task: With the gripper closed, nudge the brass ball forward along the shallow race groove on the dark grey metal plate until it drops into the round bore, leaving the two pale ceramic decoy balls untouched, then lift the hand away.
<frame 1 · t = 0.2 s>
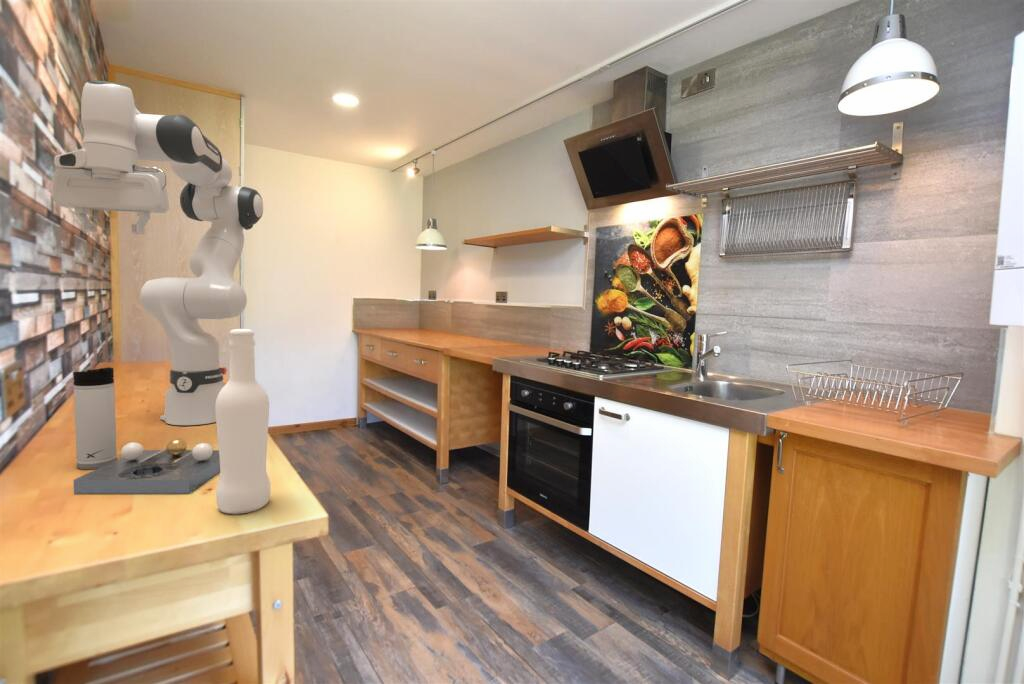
hand: (113, 232, 103), 47 cm above the worktop, fingers open, 8 cm apart
travel mug: (98, 465, 100), on the worktop
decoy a: (202, 451, 98), point 4 cm above the worktop, touching plate
bottle: (244, 506, 84), on the worktop
brass ball: (176, 447, 100), point 4 cm above the worktop, touching plate
decoy b: (132, 451, 96), point 4 cm above the worktop, touching plate
plate: (161, 476, 95), on the worktop
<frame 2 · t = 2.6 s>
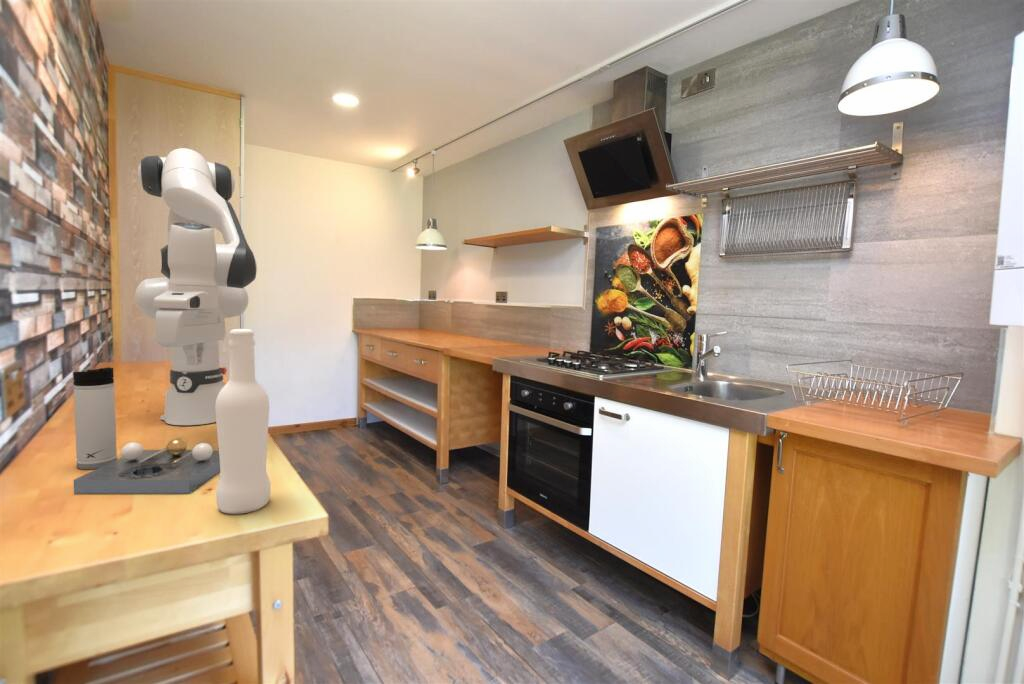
hand: (195, 364, 106), 20 cm above the worktop, fingers closed
nothing on the worktop moved.
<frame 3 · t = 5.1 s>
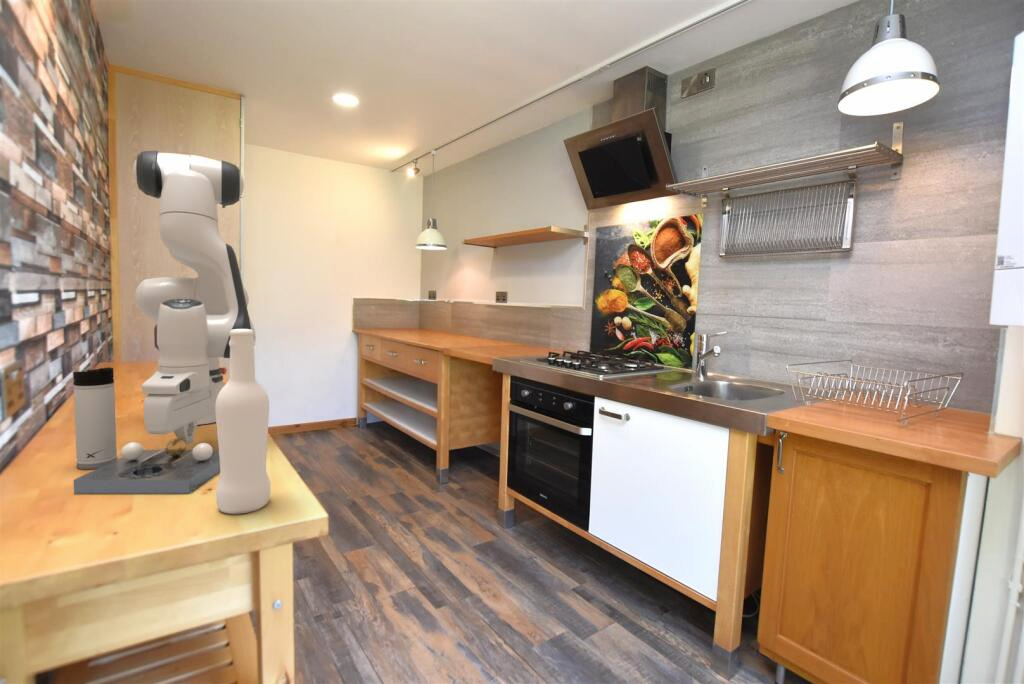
hand: (185, 444, 103), 4 cm above the worktop, fingers closed
brass ball: (175, 447, 100), point 4 cm above the worktop, touching gripper
everything else where it was.
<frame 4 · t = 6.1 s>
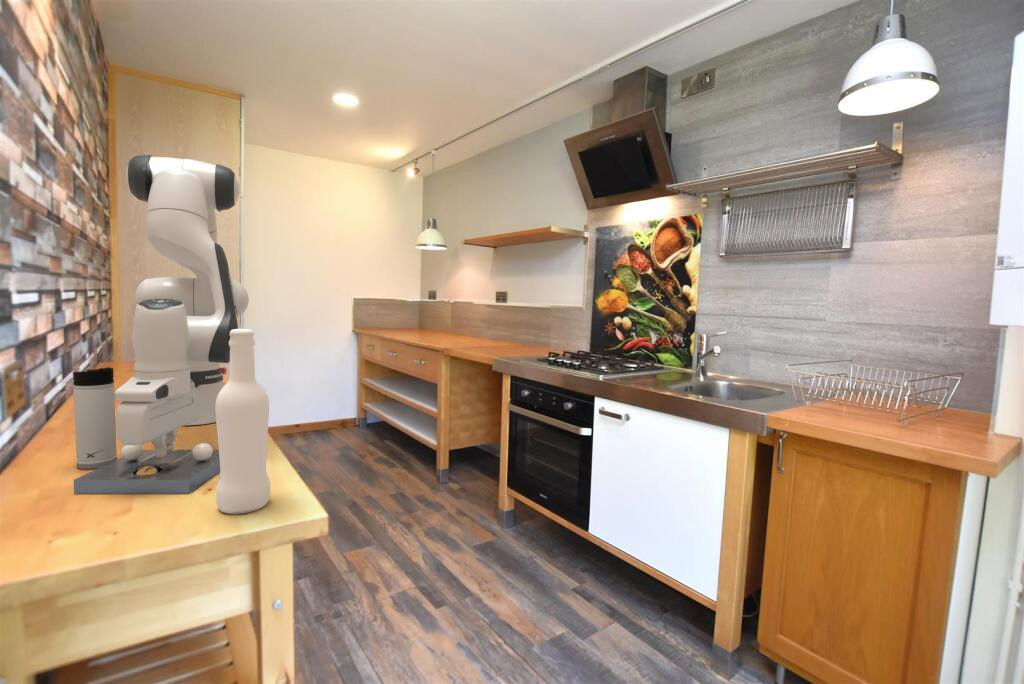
hand: (164, 454, 96), 4 cm above the worktop, fingers closed
brass ball: (146, 475, 91), point 2 cm above the worktop, tilted 10°
everything else where it was.
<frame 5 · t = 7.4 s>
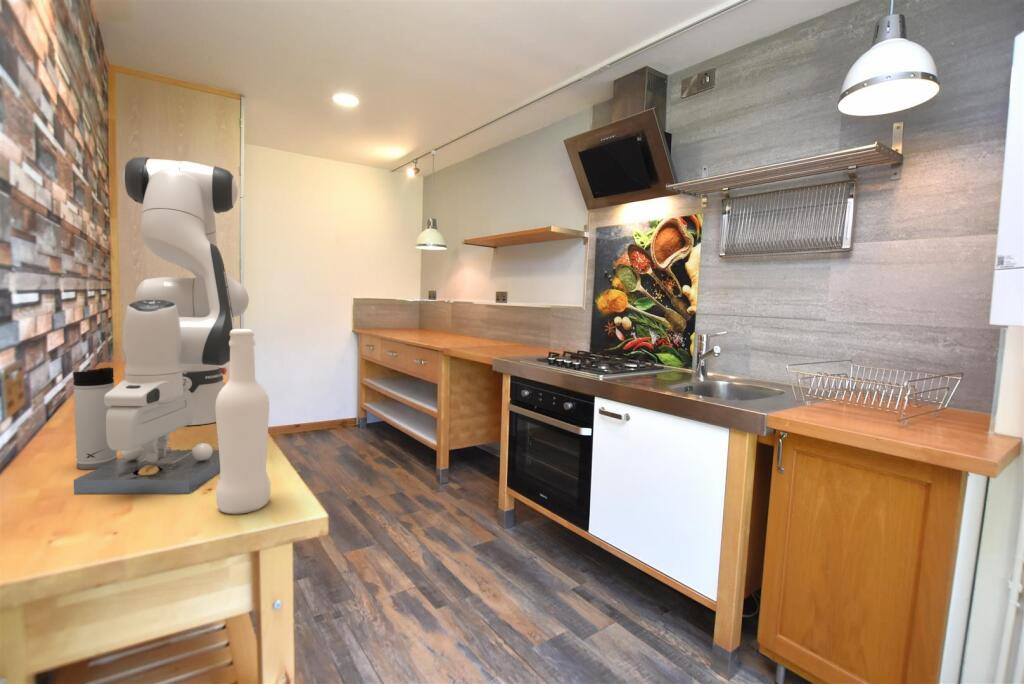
hand: (156, 459, 94), 4 cm above the worktop, fingers closed
nothing on the worktop moved.
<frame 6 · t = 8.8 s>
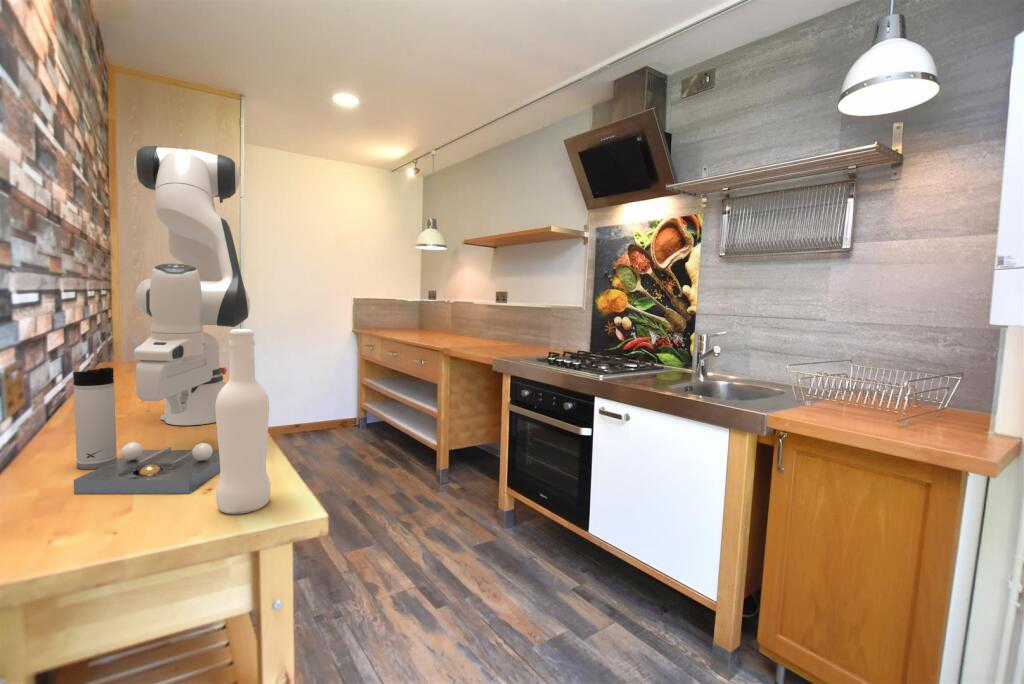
hand: (179, 412, 102), 11 cm above the worktop, fingers closed
brass ball: (150, 474, 92), point 2 cm above the worktop, tilted 21°
everything else where it was.
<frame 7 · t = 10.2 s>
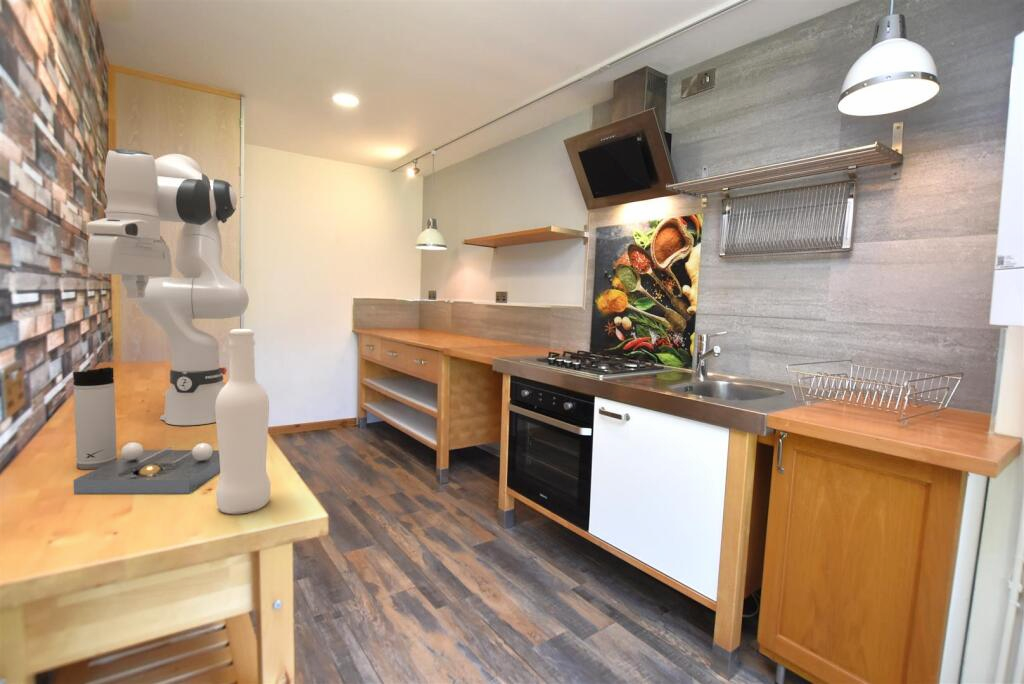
hand: (136, 297, 103), 34 cm above the worktop, fingers closed
nothing on the worktop moved.
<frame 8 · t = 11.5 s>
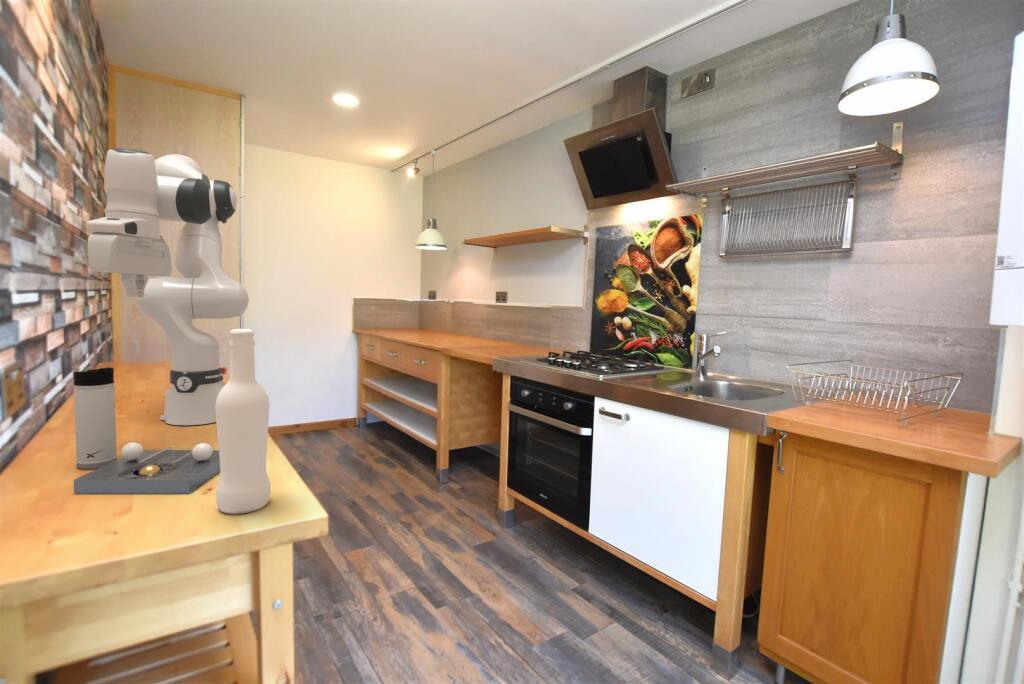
hand: (135, 296, 103), 34 cm above the worktop, fingers closed
nothing on the worktop moved.
at the end: brass ball 0.4 cm from the target spot in the plate, point 1.7 cm above the plate's base; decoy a moved 0.1 cm from its start; decoy b moved 0.1 cm from its start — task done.
